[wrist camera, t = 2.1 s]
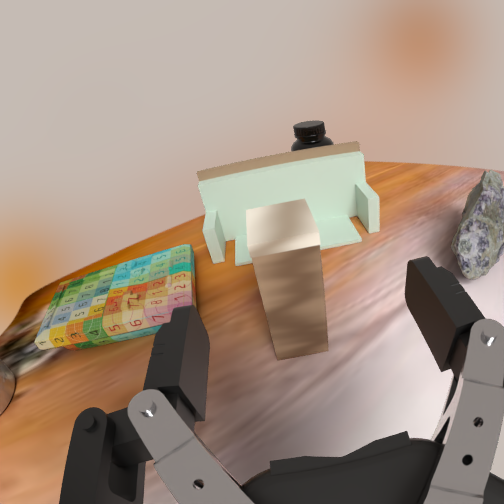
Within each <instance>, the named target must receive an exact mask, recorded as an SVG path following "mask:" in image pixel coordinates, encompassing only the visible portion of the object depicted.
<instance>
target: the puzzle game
mask: <svg viewBox="0 0 504 504" xmlns="http://www.w3.org/2000/svg"><path fill="white" fill-rule="evenodd" d="M187 305H194V306H195V307H196V291H195V270H194V252H193V249H192V246H191V245H189V244H183V245H180V246H177V247H173V248H170V249H167V250H163V251H160V252H157V253H153V254H150V255H147V256H144V257H140V258H137V259H134V260H130V261H127V262H124V263H121V264H118V265H114V266H111V267H108V268H105V269H102V270H98V271H95V272H92V273H89V274H86V275H83V276H80V277H76V278H73V279H70V280H67V281H64V282H61V283H60V284H59V286H58V288H57V291H56V293H55V295H54V297H53V299H52V301H51V304H50V306H49V308H48V310H47V313H46V315H45V317H44V320H43V322H42V325H41V327H40V329H39V332H38V334H37V337H36V339H35V342H34V343H35V345H36V346H37V347H38V348H39V349H42V350H48V349H53V348H58V347H62V346H63V347H65V348H67V349H69V350H80V349H86V348H91V347H96V346H100V345H105V344H110V343H115V342H119V341H124V340H129V339H133V338H138V337H142V336H147V335H151V334H155V333H157V332H158V330H159V329H160V327H161V326H162V324H163V323H168V322H170V320H171V315H172V311H173V309H174V308H176V307H182V306H187Z"/></svg>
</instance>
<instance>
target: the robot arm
mask: <svg viewBox="0 0 504 504" xmlns="http://www.w3.org/2000/svg"><path fill="white" fill-rule="evenodd" d="M405 299H406V303H407V306H408V308H409V310H410V312H411V314H412V316H413V318H414V319H415V321H416V323H417V325H418V327H419V329H420V331H421V333H422V335H423V336H424V338H425V340H426V342H427V344H428V346H429V348H430V350H431V352H432V354H433V356H434V358H435V360H436V362H437V364H438V366H439V369H440V371H441V372H443V371H446V370H448V369H451V370H452V372H453V377H452V380H451V383H450V387H449V391H448V394H447V398H446V401H445V404H444V408H443V411H442V414H441V417H440V420H439V422H438V425H437V427H436V429H435V431H434V434H433V436H432V438H431V440H428V439H422V438H409V435H408V432H407V431H405V432H402V433H399V434H396V435H392V436H389V437H386V438H382V439H379V440H375V441H373V442H371V443H369V444H368V445H366V446H364V447H362V448H360V449H358V450H356V451H354V452H352V453H350V454H348V455H346V456H343V457H312V456H302V457H296V458H289V459H282V460H275V461H270V469H268V470H265V471H263V472H261V473H259V474H257V475H256V476H254V477H252V478H251V479H249V480H248V481H247V482H245V483H244V484H243V485H241V484H240V483H239V482H238V481H237V480H236V479H235V478H234V477H233V475H232V474H231V473H230V472H229V471H228V470H227V469H226V468H225V467H224V466H223V465H222V464H221V463H220V461H219V460H218V459H217V458H216V457H215V456H214V455H213V453H212V452H211V451H210V450H209V449H208V448H207V446H206V445H205V444H204V443H203V442H202V440H201V439H200V438H199V437H198V435H197V434H196V433H195V432H194V425H195V422H196V421H205V409H206V393H207V379H208V365H209V352H210V343H209V337H208V334H207V331H206V329H205V327H204V324H203V322H202V320H201V318H200V316H199V313H198V311H197V309H196V307H195V306H194V305H187V306H182V307H176V308H174V309H173V311H172V315H171V320H170V322H168V323H163V324H162V326H161V327H160V329H159V330H158V332H157V333H156V336H155V340H154V344H153V346H154V347H153V348H152V352H151V357H150V361H149V365H148V370H147V374H146V379H145V383H144V388H143V391H141V392H139V393H138V394H136V395H135V396H134V397H133V398H132V400H131V401H130V403H129V405H128V407H127V408H124V409H121V410H118V411H115V412H112V413H109V414H106V413H105V412H104V411H103V410H101V409H99V408H96V407H92V408H88V409H86V410H84V411H83V412H81V413H80V414H79V416H78V417H77V419H76V421H75V424H74V428H73V432H72V436H71V441H70V446H69V450H68V455H67V460H66V465H65V471H64V476H63V482H62V488H61V494H60V501H59V504H143V497H144V479H145V465H146V461H149V460H152V459H154V460H155V463H154V467H155V469H156V471H157V473H158V474H159V476H160V477H161V479H162V480H163V482H164V483H165V485H166V486H167V487H168V489H169V490H170V492H171V493H172V495H173V496H174V497H175V499H176V500H177V501H178V503H179V504H504V480H503V479H501V478H499V477H498V476H496V475H494V474H492V473H490V470H491V466H492V463H493V459H494V455H495V451H496V448H497V444H498V439H499V435H500V431H501V425H502V421H503V416H504V327H503V326H502V325H501V324H500V323H499V322H497V321H495V320H492V319H485V317H484V316H483V314H482V313H481V312H480V310H479V309H478V307H477V306H476V305H475V303H474V302H473V300H472V299H471V298H470V296H469V295H468V294H467V292H465V289H464V288H463V287H462V286H461V284H459V282H458V280H457V279H456V278H455V276H454V275H453V274H452V273H451V272H449V271H448V270H446V269H445V268H443V267H442V266H441V267H436V266H435V265H434V263H433V262H432V261H431V259H430V258H429V257H427V256H426V257H422V258H418V259H413V260H410V261H408V264H407V275H406V286H405ZM14 388H15V378H14V374H13V372H12V371H11V370H10V369H9V368H8V367H7V366H6V365H5V363H4V362H3V361H2V360H1V359H0V414H1V413H2V412H3V411H4V410H5V408H6V407H7V405H8V404H9V402H10V400H11V398H12V395H13V392H14Z"/></svg>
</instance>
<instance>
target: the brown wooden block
mask: <svg viewBox="0 0 504 504" xmlns="http://www.w3.org/2000/svg"><path fill="white" fill-rule="evenodd" d="M246 226H247V246H248V250H249V254H250V258H252V262H253V266H254V270H255V274H256V278H257V282H258V286H259V290H260V293H261V297H262V301H263V305H264V309H265V313H266V317H267V321H268V325H269V329H270V333H271V336H272V340H273V344H274V348H275V352H276V356H277V360H283V359H288V358H294V357H299V356H305V355H310V354H315V353H320V352H325V351H328V335H327V320H326V306H325V294H324V283H323V272H322V261H321V252H320V245H321V243H320V234H319V230H318V227H317V225H316V223H315V220H314V218H313V216H312V213H311V211H310V209H309V207H308V204H307V202H306V200H305V198H304V199H299V200H294V201H289V202H283V203H278V204H273V205H268V206H263V207H258V208H253V209H248V210H246Z"/></svg>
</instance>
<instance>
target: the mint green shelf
mask: <svg viewBox="0 0 504 504" xmlns="http://www.w3.org/2000/svg"><path fill="white" fill-rule="evenodd" d="M197 175H198V178H199V184H198V188H199V191H200V194H201V198H202V201H203V204H204V207H205V211H206V215H205V220H204V225H203V230H202V231H203V234H204V237H205V240H206V243H207V246H208V249H209V252H210V255H211V258H212V261H213V264H214V263H220V262H225V247H226V241H230V240H235V239H236V242H235V265H236V266H240V265H245V264H250V263H253V262H252V258H250V254H249V250H248V246H247V226H246V210H248V209H253V208H258V207H263V206H268V205H273V204H278V203H283V202H289V201H294V200H299V199H304V198H305V200H306V202H307V204H308V207H309V209H310V211H311V213H312V216H313V218H314V220H315V223H316V225H317V227H318V230H319V234H320V243H321V245H320V250H323V249H328V248H333V247H338V246H343V245H348V244H353V243H358V242H362V239H361V237H360V235H359V234H358V232H357V230H356V229H355V227H354V225H353V224H352V222H351V220H350V219H349V217H354V216H358V218H359V219H360V221H361V222H362V224H363V225H364V227H365V228H366V230H367V231H368V233H374V232H379V196H378V195H377V194H376V193H375V192H374V191H373V190H372V188H371V187H370V186H369V185H368V184H367V183H366V181H365V166H364V154H363V153H361V152H360V149H359V142H357V141H356V142H349V143H341V144H335V145H328V146H322V147H315V148H309V149H303V150H298V151H292V152H286V153H281V154H276V155H270V156H265V157H260V158H255V159H250V160H246V161H241V162H236V163H232V164H228V165H223V166H219V167H214V168H210V169H205V170H201V171H198V172H197Z"/></svg>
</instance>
